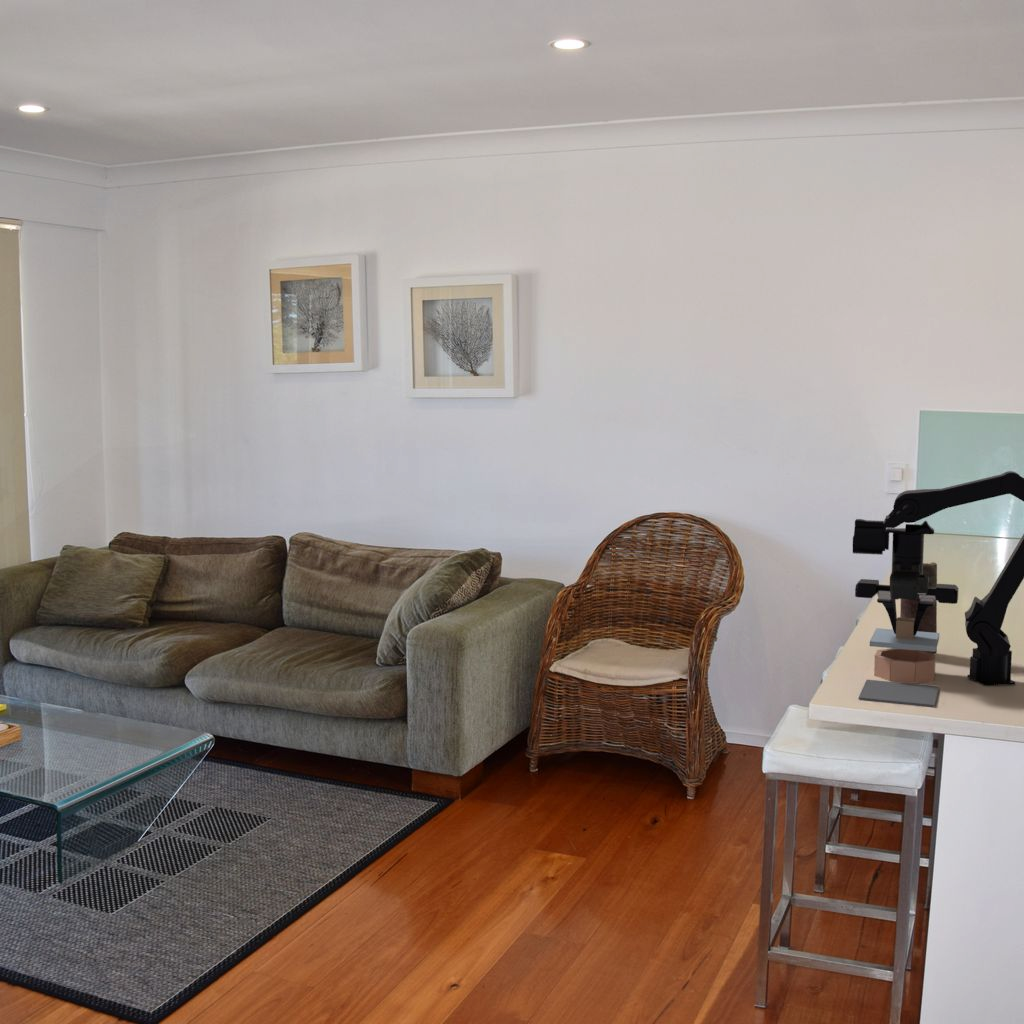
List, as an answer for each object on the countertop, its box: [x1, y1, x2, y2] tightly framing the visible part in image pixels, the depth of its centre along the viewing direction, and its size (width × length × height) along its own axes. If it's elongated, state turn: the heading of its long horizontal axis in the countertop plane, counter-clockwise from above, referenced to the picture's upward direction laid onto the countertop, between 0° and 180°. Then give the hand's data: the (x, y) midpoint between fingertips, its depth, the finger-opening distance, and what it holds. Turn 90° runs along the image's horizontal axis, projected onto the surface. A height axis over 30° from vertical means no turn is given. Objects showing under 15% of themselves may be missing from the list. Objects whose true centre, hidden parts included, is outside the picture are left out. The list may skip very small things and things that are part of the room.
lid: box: [869, 616, 940, 652], centre depth 218 cm, size 12×12×4 cm
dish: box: [873, 648, 937, 684], centre depth 219 cm, size 11×11×4 cm
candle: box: [899, 561, 938, 655], centre depth 234 cm, size 8×7×20 cm
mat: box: [858, 679, 939, 708], centre depth 206 cm, size 13×13×1 cm
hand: (905, 634), depth 218 cm, fingers closed on lid, 3 cm apart
